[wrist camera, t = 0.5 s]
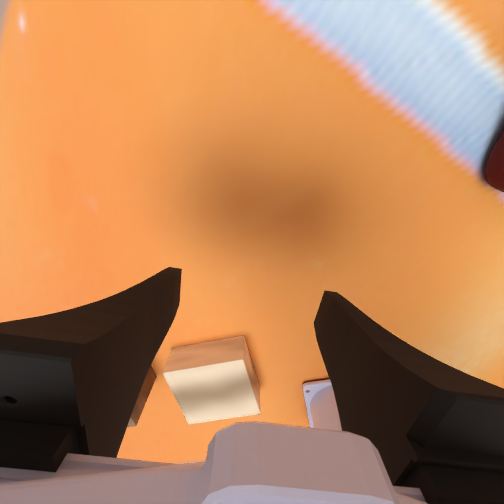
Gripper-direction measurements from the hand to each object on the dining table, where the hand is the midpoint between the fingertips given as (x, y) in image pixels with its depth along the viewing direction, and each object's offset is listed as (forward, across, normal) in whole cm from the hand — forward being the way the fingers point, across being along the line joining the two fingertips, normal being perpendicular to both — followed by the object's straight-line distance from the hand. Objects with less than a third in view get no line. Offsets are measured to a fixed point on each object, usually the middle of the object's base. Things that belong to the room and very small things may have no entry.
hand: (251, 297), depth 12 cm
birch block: (+10, +1, +17) cm, 20 cm away
